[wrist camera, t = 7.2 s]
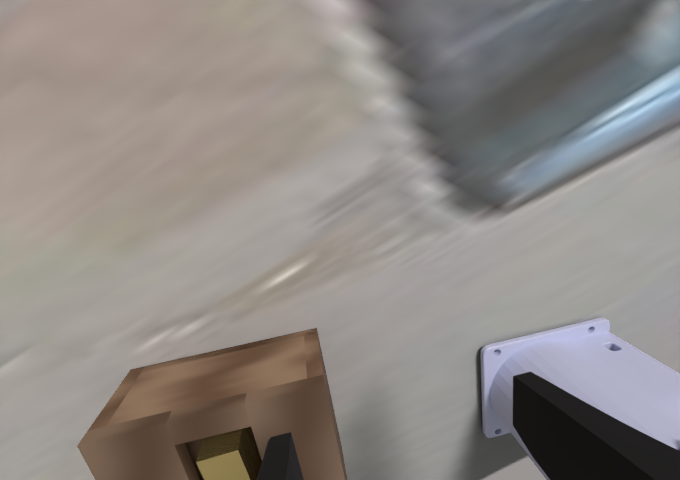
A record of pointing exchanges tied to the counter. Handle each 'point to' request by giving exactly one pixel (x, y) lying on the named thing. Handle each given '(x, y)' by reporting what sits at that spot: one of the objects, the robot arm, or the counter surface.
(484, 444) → the counter surface
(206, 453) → the block
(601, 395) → the robot arm
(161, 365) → the coin box
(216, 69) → the counter surface
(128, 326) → the counter surface
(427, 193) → the counter surface
